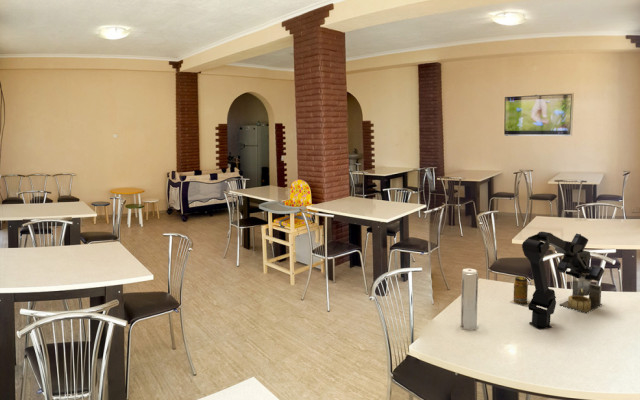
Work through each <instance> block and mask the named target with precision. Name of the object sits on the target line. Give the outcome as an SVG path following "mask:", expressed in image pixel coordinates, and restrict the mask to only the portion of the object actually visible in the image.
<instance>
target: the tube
mask: <svg viewBox="0 0 640 400" xmlns="http://www.w3.org/2000/svg"><path fill="white" fill-rule="evenodd" d="M586 275H587V274H586V273H585V274H582V275H581V274H579V277H578V278H577V280H578V294H579V295H583V296H584V297H589V287H590V284H591V282H590V281H588V280H586V279H585V277H586Z"/></svg>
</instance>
